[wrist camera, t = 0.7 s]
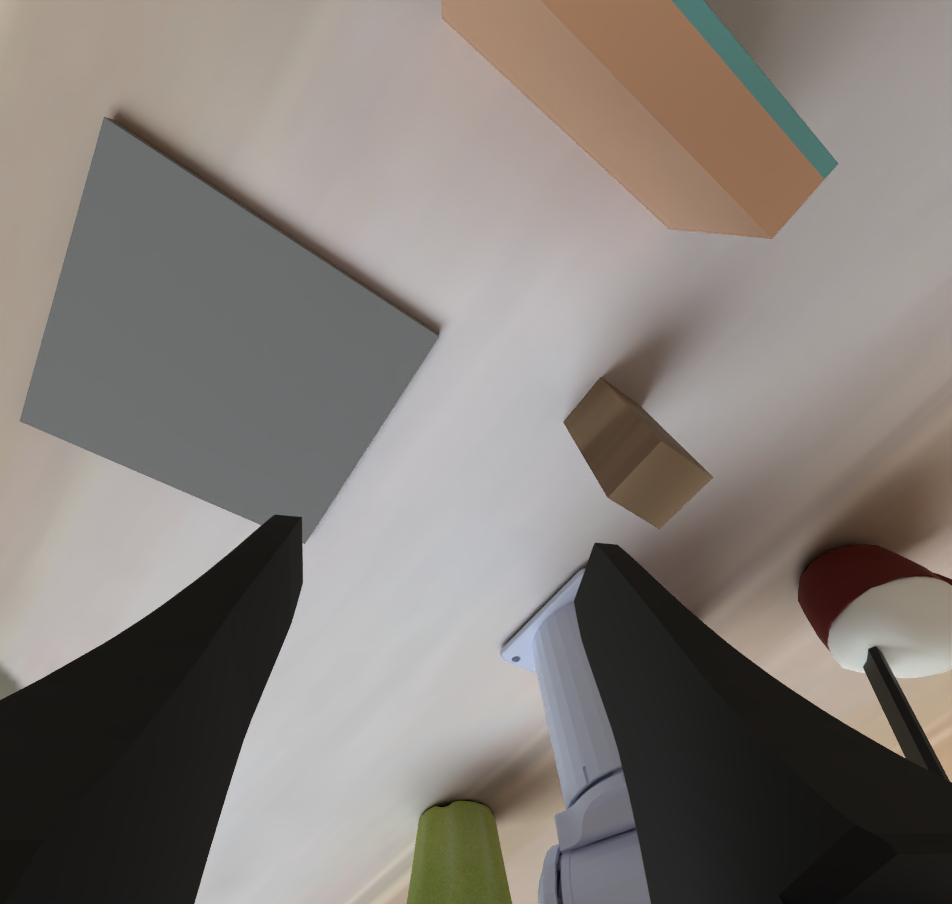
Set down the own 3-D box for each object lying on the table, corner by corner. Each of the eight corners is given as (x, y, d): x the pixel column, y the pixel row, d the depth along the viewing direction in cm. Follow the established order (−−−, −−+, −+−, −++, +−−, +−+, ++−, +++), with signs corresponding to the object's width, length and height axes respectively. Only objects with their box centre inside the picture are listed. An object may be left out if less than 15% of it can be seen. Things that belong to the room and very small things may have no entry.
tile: (708, 177, 16) (838, 163, 11) (667, 228, 17) (771, 238, 12) (479, -56, 13) (508, -237, 8) (441, 19, 14) (444, -98, 8)
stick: (641, 407, 20) (713, 477, 15) (603, 448, 21) (659, 529, 16) (600, 377, 19) (661, 441, 14) (563, 422, 20) (607, 497, 15)
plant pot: (380, 838, 37) (366, 1001, 30) (423, 778, 33) (418, 947, 26) (483, 851, 40) (494, 1004, 32) (533, 796, 36) (560, 955, 28)
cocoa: (918, 533, 26) (1272, 748, 15) (859, 614, 28) (1125, 846, 18) (778, 519, 24) (1070, 753, 13) (728, 607, 27) (939, 862, 16)
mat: (438, 334, 18) (439, 336, 18) (307, 538, 22) (304, 543, 22) (112, 119, 14) (104, 117, 14) (27, 416, 18) (19, 420, 18)
